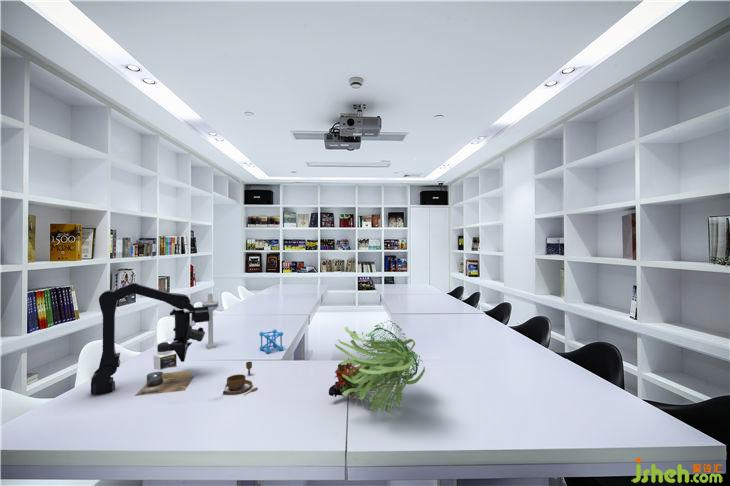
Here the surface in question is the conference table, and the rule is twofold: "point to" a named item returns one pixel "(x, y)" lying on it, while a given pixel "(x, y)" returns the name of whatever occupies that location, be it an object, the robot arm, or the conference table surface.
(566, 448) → the conference table surface
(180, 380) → the base plate
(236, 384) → the place setting
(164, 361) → the medicine bottle
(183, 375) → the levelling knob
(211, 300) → the model tower
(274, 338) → the molecular structure
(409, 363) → the plant
